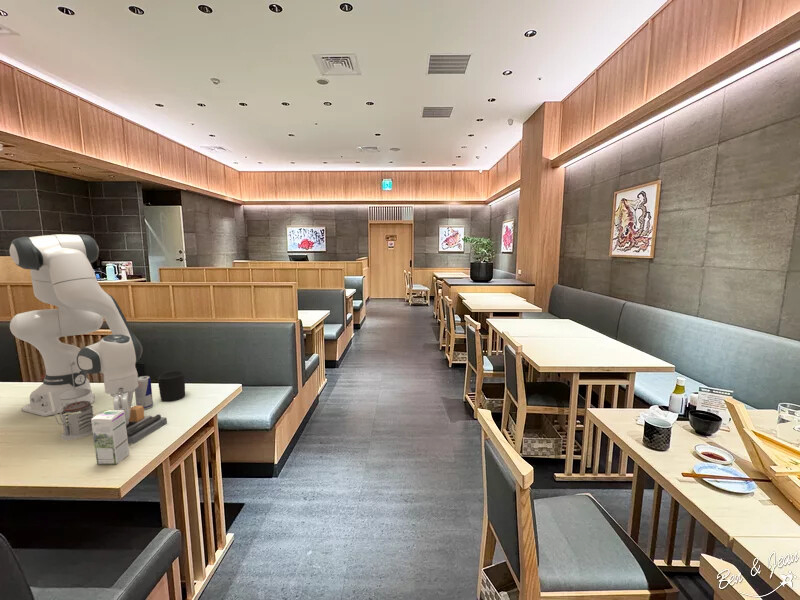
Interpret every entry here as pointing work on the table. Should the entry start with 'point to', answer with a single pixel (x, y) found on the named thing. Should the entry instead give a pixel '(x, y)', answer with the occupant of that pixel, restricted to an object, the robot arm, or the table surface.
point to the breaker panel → (147, 430)
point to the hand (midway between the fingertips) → (126, 423)
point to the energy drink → (144, 392)
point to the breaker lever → (136, 414)
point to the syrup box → (110, 436)
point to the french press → (74, 427)
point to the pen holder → (172, 386)
